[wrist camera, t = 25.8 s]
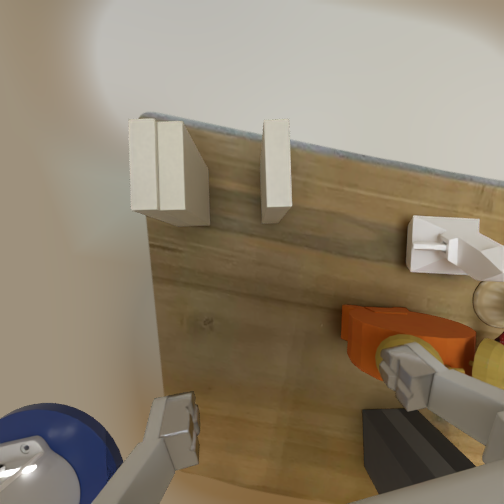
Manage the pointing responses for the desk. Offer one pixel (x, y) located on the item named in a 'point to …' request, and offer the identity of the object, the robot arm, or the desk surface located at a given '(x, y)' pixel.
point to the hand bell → (490, 303)
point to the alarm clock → (419, 341)
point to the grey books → (406, 450)
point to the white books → (167, 173)
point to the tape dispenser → (453, 248)
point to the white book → (275, 171)
